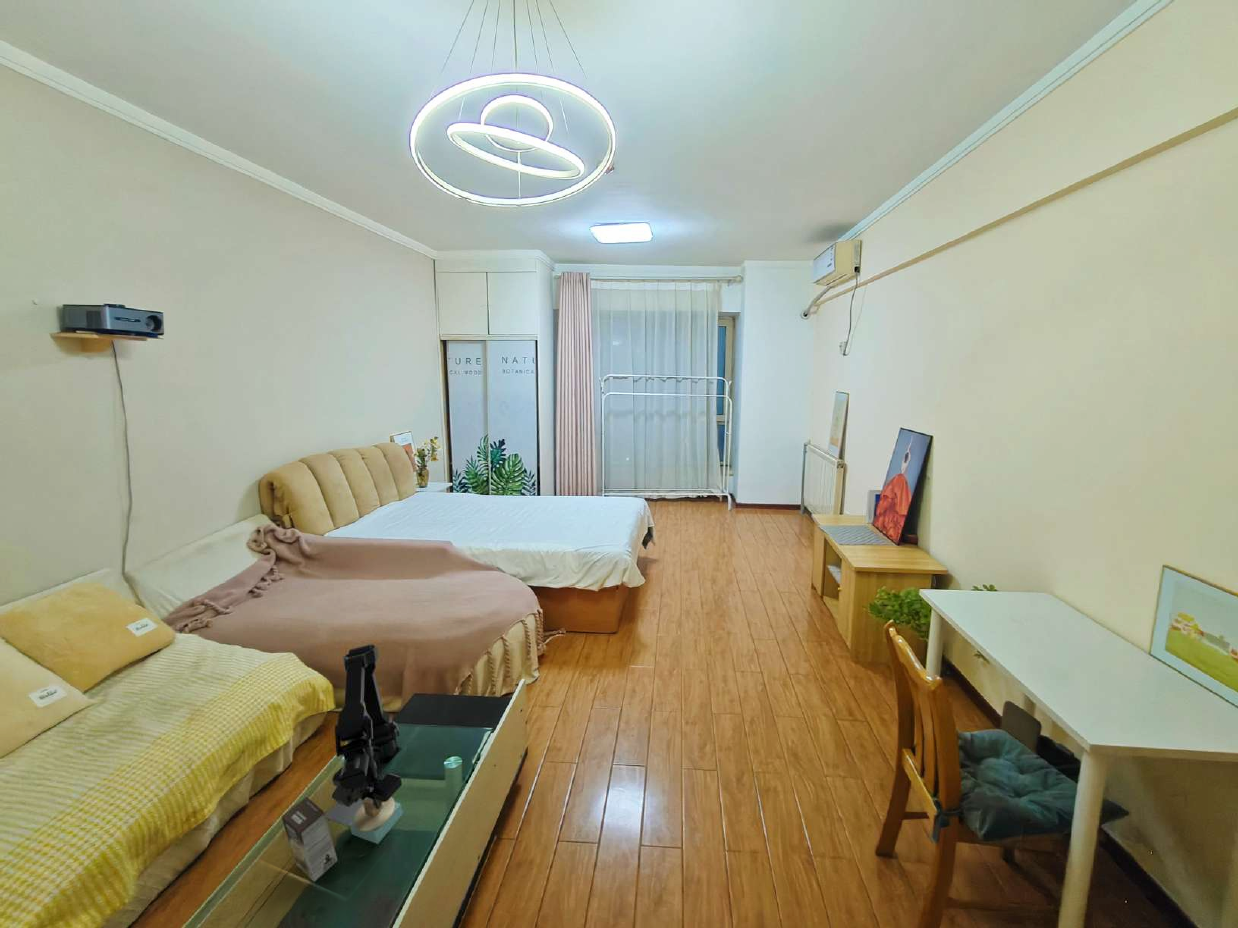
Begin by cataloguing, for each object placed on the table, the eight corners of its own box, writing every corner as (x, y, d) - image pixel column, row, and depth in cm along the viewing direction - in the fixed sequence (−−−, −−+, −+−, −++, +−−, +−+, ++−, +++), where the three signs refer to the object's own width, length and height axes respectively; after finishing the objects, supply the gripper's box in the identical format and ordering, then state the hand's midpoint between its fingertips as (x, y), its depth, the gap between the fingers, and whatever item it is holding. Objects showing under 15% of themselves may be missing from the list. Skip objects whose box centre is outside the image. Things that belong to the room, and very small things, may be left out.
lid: (346, 825, 136) (341, 809, 134) (375, 793, 145) (371, 778, 143) (375, 835, 132) (370, 818, 131) (403, 802, 141) (399, 786, 140)
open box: (378, 806, 145) (376, 795, 144) (403, 815, 142) (400, 803, 141) (352, 835, 137) (349, 824, 136) (378, 845, 134) (374, 833, 133)
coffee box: (295, 866, 130) (279, 815, 126) (320, 844, 135) (306, 795, 131) (314, 884, 125) (298, 832, 121) (339, 861, 130) (325, 810, 126)
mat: (359, 783, 154) (358, 781, 153) (384, 791, 150) (384, 789, 150) (324, 818, 143) (323, 816, 143) (350, 828, 139) (349, 826, 139)
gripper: (308, 774, 130) (322, 823, 134) (362, 792, 123) (376, 843, 127) (344, 741, 140) (357, 787, 144) (397, 756, 133) (408, 805, 137)
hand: (373, 805), depth 138 cm, fingers open, 4 cm apart
